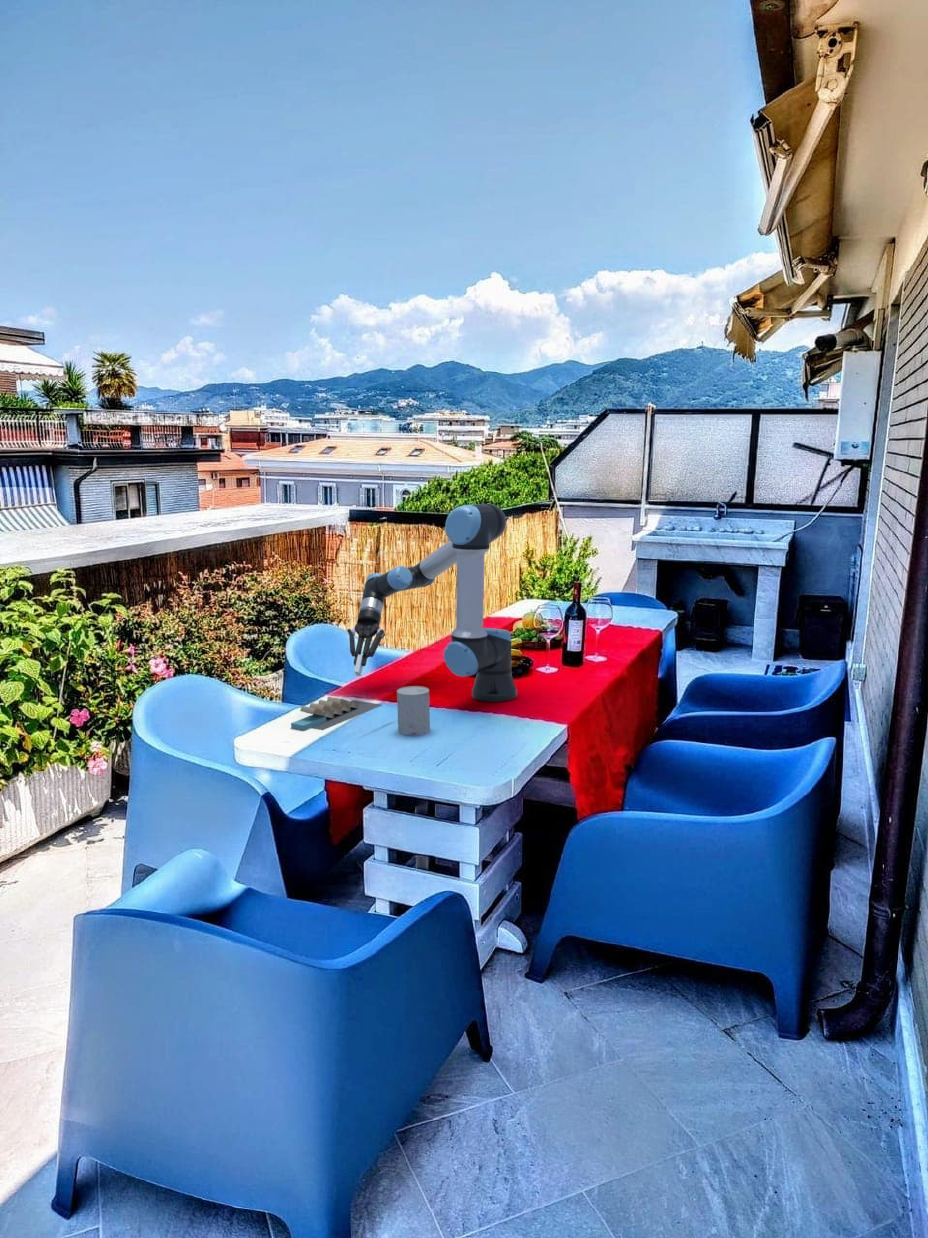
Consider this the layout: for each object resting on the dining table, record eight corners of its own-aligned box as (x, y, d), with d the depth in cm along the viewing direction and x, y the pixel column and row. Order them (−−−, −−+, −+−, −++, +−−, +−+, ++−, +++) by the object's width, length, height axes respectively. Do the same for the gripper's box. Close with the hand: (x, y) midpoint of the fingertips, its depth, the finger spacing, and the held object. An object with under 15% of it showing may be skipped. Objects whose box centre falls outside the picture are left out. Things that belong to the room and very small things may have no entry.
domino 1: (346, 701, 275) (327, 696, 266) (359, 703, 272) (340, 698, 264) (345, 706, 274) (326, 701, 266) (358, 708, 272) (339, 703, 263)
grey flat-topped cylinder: (418, 737, 246) (416, 696, 243) (391, 732, 250) (390, 692, 248) (436, 728, 253) (435, 688, 251) (410, 724, 258) (409, 684, 256)
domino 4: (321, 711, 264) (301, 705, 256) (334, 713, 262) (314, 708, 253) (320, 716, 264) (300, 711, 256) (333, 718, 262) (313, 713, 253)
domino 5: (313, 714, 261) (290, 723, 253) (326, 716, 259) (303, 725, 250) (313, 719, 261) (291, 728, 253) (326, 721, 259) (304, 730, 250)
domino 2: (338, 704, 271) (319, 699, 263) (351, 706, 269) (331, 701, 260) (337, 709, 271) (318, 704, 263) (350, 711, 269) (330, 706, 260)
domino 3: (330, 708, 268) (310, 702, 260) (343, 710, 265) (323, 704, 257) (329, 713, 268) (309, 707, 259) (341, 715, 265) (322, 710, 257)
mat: (353, 702, 282) (353, 700, 282) (383, 707, 276) (383, 704, 276) (291, 727, 257) (291, 724, 257) (322, 733, 251) (322, 730, 251)
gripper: (390, 620, 291) (379, 680, 278) (354, 620, 294) (341, 679, 281) (386, 608, 285) (374, 668, 272) (348, 607, 288) (335, 667, 274)
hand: (357, 673), depth 276 cm, fingers closed
